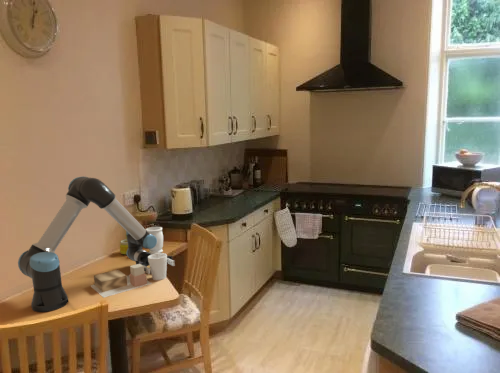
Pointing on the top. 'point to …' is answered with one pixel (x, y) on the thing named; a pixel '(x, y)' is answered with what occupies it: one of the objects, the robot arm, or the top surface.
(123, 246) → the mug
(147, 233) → the robot arm
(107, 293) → the white board
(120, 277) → the oak plinth
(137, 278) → the terracotta tower
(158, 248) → the jar
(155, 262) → the foam cup
